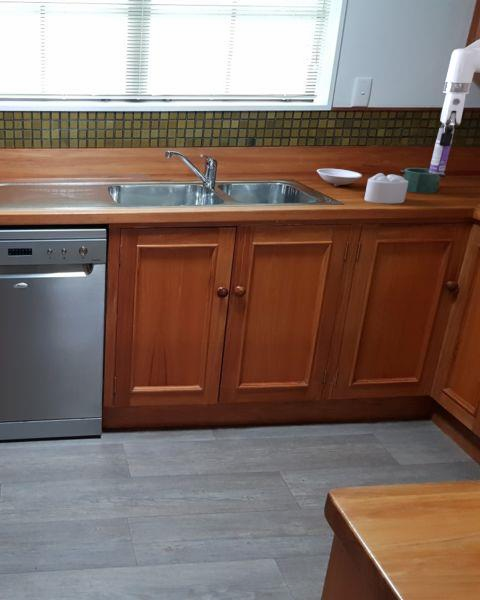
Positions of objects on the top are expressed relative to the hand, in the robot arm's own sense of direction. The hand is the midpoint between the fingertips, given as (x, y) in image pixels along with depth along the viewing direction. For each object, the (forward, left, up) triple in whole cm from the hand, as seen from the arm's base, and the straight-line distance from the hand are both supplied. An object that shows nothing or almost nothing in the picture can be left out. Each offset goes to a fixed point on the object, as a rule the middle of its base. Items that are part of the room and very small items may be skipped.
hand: (443, 144), depth 208 cm
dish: (+31, -11, -20) cm, 38 cm away
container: (0, 0, -10) cm, 10 cm away
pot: (+2, -16, -19) cm, 25 cm away
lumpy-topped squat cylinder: (+16, +8, -20) cm, 27 cm away
